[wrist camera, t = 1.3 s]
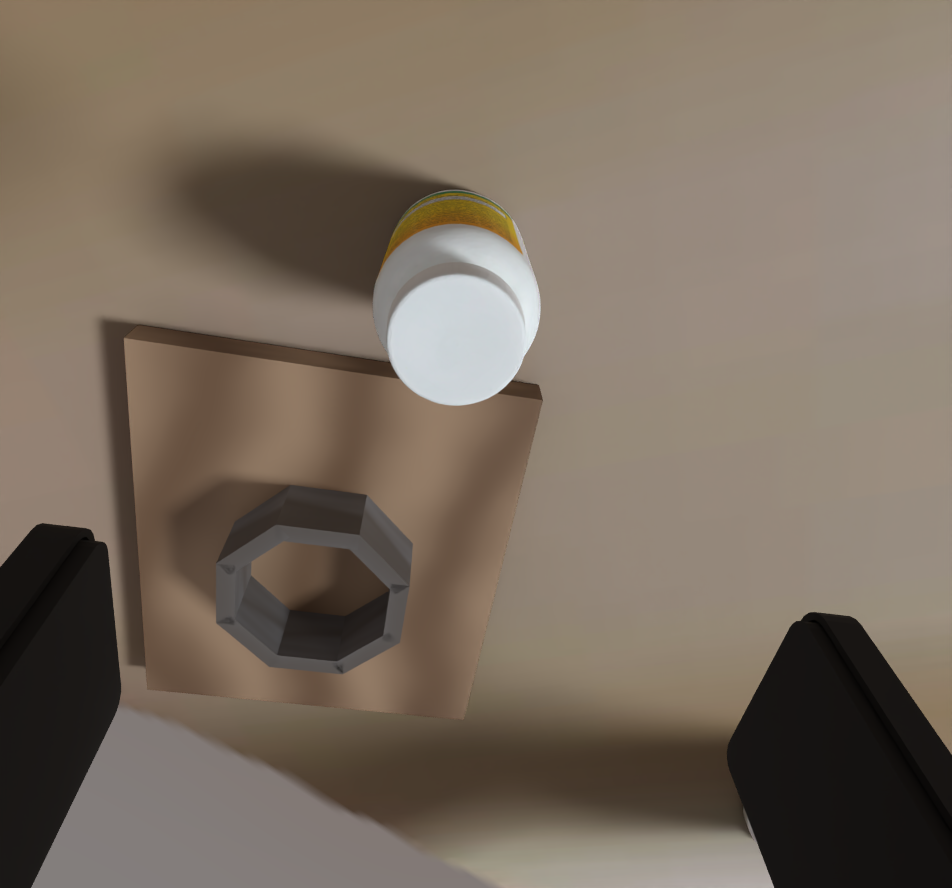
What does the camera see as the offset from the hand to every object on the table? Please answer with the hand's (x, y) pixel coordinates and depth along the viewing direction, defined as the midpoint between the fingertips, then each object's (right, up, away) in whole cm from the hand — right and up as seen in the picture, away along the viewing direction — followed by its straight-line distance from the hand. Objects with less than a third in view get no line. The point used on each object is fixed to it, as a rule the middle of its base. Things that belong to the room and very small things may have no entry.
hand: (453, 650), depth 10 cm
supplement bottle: (0, +10, +19) cm, 22 cm away
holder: (-7, -2, +25) cm, 26 cm away
